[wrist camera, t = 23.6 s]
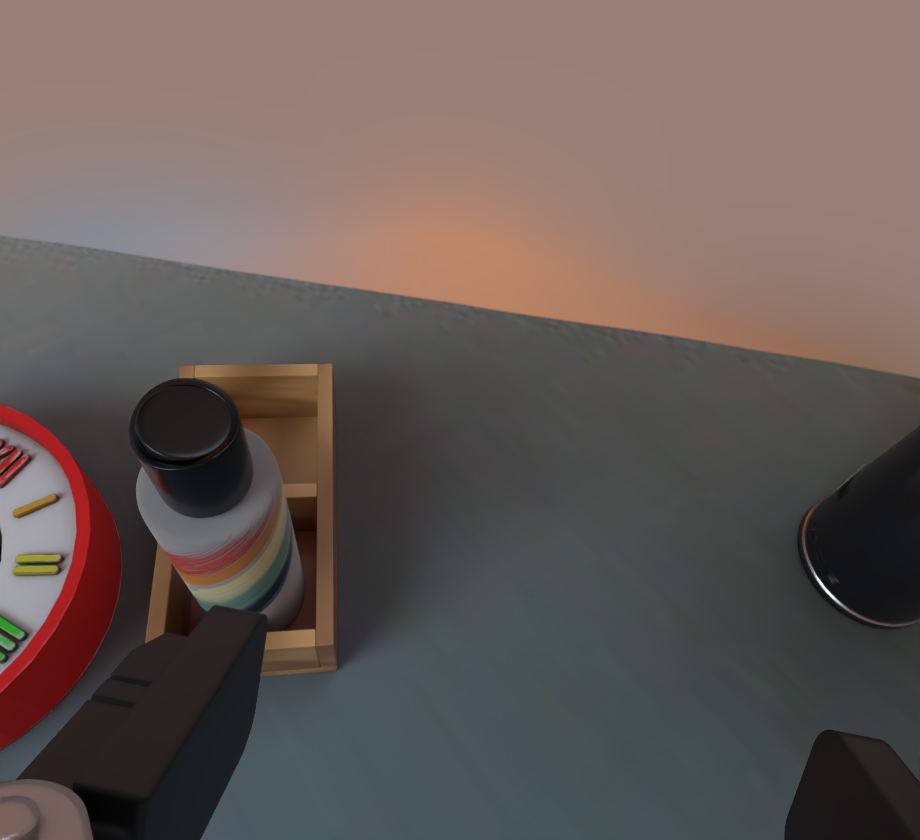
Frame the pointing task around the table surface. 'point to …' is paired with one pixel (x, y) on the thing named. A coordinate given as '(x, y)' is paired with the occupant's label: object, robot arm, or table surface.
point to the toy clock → (49, 572)
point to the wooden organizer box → (309, 500)
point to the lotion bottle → (216, 501)
